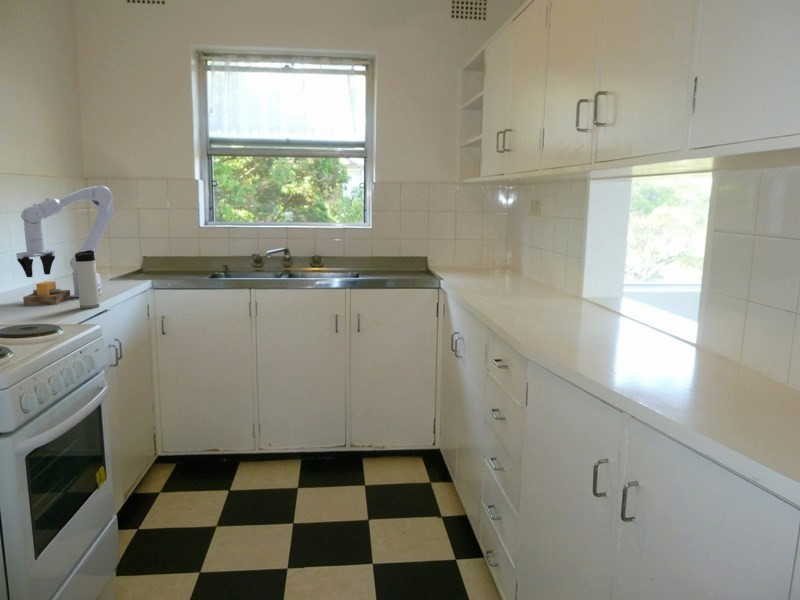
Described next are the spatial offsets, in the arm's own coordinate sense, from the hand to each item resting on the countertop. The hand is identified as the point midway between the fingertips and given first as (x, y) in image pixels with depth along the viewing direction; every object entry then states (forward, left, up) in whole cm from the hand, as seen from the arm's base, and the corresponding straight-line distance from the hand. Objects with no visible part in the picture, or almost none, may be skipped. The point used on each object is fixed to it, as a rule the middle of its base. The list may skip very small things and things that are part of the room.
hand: (38, 275), depth 230 cm
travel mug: (-23, +18, -10) cm, 31 cm away
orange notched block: (-3, +3, -9) cm, 10 cm away
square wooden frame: (-4, +3, -9) cm, 10 cm away
